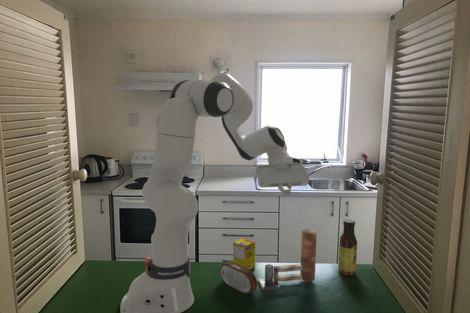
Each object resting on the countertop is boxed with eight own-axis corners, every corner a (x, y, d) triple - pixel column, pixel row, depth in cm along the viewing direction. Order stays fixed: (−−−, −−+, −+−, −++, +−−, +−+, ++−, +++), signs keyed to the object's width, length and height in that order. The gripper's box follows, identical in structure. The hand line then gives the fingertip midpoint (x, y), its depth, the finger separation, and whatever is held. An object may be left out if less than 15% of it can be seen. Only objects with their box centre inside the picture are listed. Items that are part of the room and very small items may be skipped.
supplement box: (255, 268, 131) (255, 241, 129) (245, 274, 127) (245, 246, 125) (243, 263, 135) (243, 237, 133) (233, 269, 130) (233, 242, 129)
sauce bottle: (356, 277, 125) (360, 224, 122) (338, 275, 126) (341, 223, 123) (354, 269, 131) (357, 218, 128) (337, 267, 132) (339, 217, 129)
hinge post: (262, 290, 116) (262, 271, 115) (258, 281, 122) (258, 263, 121) (279, 289, 117) (280, 269, 116) (274, 280, 123) (275, 261, 122)
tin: (257, 295, 113) (257, 271, 112) (251, 299, 111) (251, 274, 110) (224, 279, 124) (224, 256, 122) (218, 282, 121) (218, 259, 120)
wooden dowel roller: (276, 284, 117) (277, 236, 114) (271, 277, 122) (272, 231, 119) (317, 280, 119) (319, 234, 117) (311, 273, 124) (313, 228, 122)
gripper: (256, 161, 135) (262, 192, 127) (306, 159, 139) (314, 189, 131) (253, 170, 140) (259, 200, 132) (301, 168, 144) (309, 197, 136)
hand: (287, 195), depth 132 cm, fingers closed
